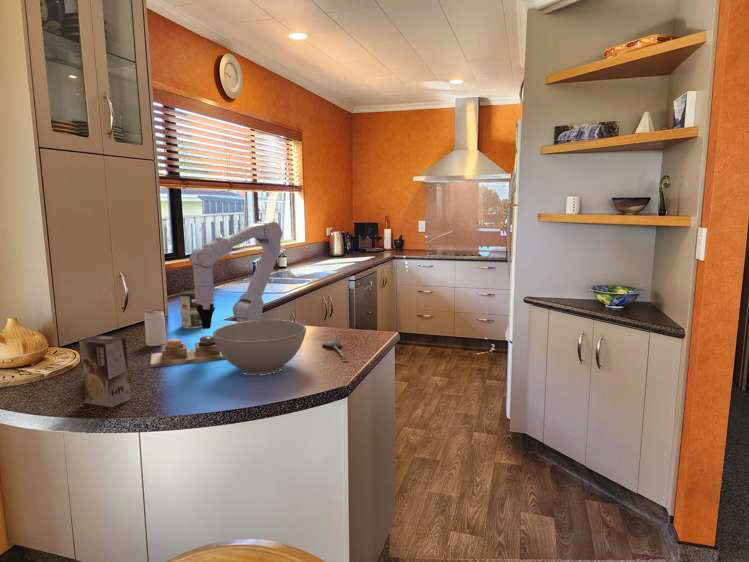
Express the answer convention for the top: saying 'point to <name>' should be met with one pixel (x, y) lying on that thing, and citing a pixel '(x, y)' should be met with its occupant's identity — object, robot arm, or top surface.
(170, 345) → the orange block
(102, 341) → the coffee box
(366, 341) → the top surface
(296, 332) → the decorative bowl
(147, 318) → the can
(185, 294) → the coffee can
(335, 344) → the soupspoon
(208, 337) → the grey plunger
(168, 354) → the console
